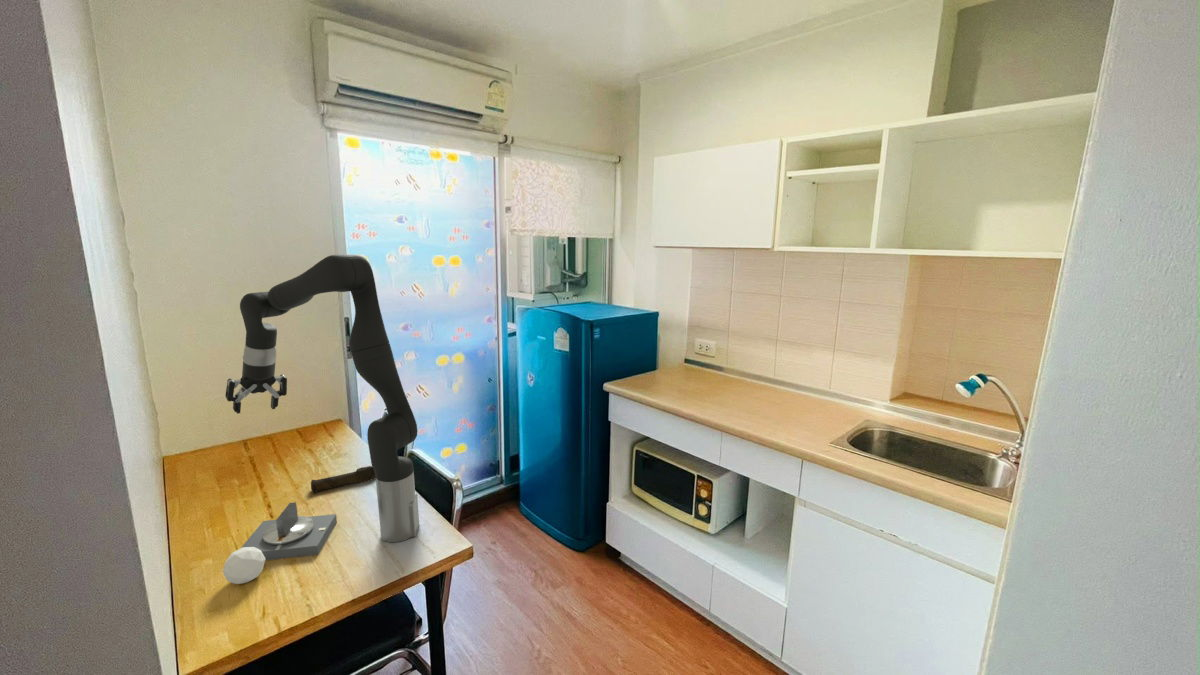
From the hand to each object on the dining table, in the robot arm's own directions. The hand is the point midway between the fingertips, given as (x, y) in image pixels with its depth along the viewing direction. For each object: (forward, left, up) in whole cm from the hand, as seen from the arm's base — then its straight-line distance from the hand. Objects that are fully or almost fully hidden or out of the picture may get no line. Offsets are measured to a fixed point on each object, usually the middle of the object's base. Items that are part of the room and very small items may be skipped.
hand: (255, 410), depth 138 cm
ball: (-12, +38, -28) cm, 49 cm away
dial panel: (-16, +25, -28) cm, 41 cm away
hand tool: (-21, -4, -28) cm, 35 cm away
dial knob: (-16, +25, -25) cm, 39 cm away
